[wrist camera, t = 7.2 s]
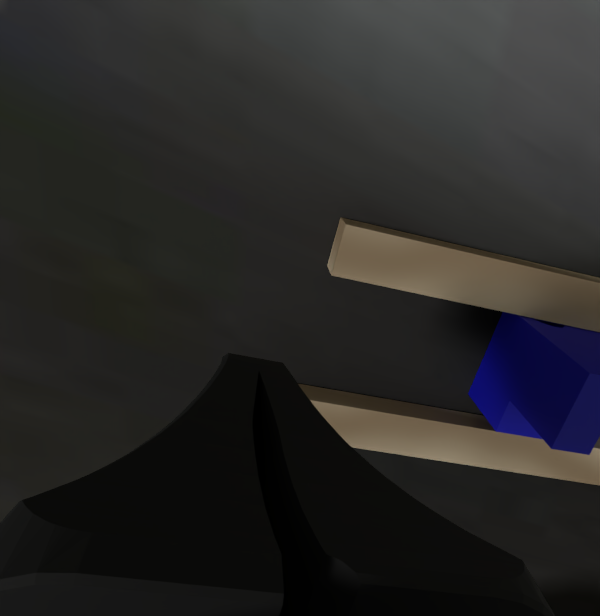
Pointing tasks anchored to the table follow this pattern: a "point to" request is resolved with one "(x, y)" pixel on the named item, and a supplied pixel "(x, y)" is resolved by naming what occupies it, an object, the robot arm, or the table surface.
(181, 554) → the robot arm
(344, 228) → the channel
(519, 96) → the table surface
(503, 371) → the blue stepped block
